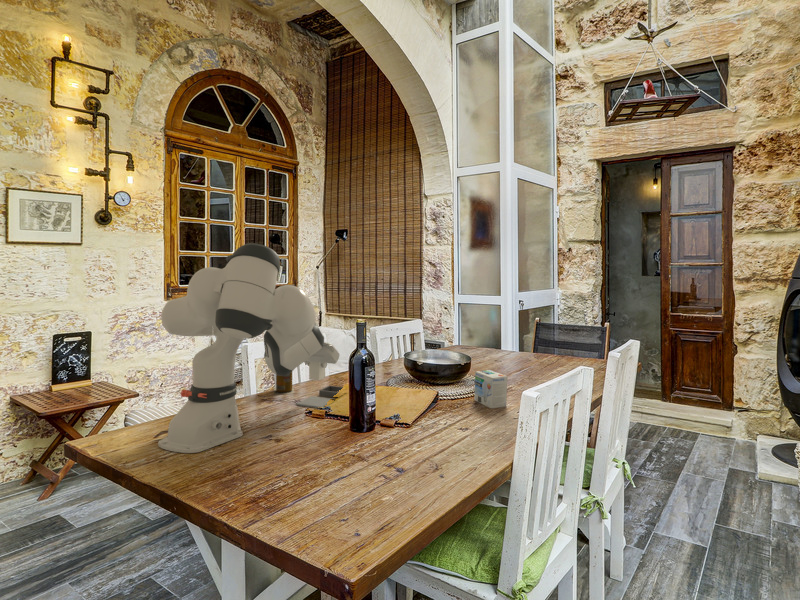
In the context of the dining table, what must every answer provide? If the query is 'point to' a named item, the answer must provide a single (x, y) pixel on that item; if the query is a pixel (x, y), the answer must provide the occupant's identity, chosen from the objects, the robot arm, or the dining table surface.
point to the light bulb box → (490, 388)
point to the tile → (314, 402)
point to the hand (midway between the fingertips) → (318, 365)
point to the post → (316, 371)
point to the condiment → (284, 384)
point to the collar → (329, 391)
